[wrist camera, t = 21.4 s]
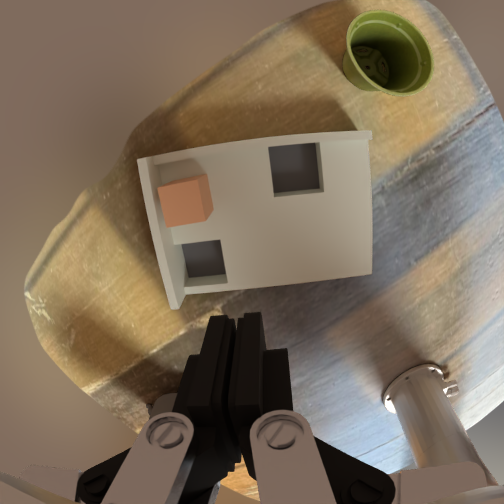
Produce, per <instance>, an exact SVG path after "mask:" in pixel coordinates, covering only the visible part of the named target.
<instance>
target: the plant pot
mask: <svg viewBox="0 0 504 504" xmlns="http://www.w3.org/2000/svg"><path fill="white" fill-rule="evenodd" d="M346 47H347V49H346V52H345V54H344V57H343V61H342V66H343V71H344V73H345V75H346V77H347V79H348V80H349V81H350V82H351V83H352V84H354V85H355V86H356V87H358V88H359V89H362V90H365V91H382V92H384V93H387V94H390V95H394V96H411V95H414V94H417V93H419V92H421V91H422V90H423V89H425V88H426V87H427V85H428V84H429V82H430V81H431V79H432V76H433V72H434V58H433V53H432V51H431V48H430V45H429V43H428V41H427V40H426V38H425V37H424V35H423V34H422V32H421V31H420V30H419V29H418V28H417V27H416V26H415V25H414V24H413V23H412V22H410V21H409V20H408V19H406V18H404V17H402V16H400V15H398V14H396V13H394V12H391V11H386V10H370V11H366V12H363V13H361V14H359V15H358V16H357V17H356V18H354V19H353V21H352V22H351V23H350V25H349V27H348V30H347V34H346ZM362 49H365V50H367V52H357V50H362ZM381 62H382V63H383V64H384V66H385V68H386V71H385V72H383V66H382V63H381ZM366 66H369V69H366Z"/></svg>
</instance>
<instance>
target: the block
mask: <svg viewBox="0 0 504 504" xmlns="http://www.w3.org/2000/svg"><path fill="white" fill-rule="evenodd" d="M157 189H158V193H159V198H160V202H161V207H162V211H163V215H164V220H165V224H166V228H169V227H175V226H180V225H186V224H192V223H198V222H204V221H206V220H207V219H208V217H209V216H210V214H211V213H212V212H213V210H214V208H213V202H212V197H211V192H210V187H209V182H208V176H207V174H204V175H199V176H193V177H188V178H184V179H179V180H174V181H171V182H169V183H167V184H164V185H162V186H160V187H158V188H157Z"/></svg>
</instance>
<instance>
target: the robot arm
mask: <svg viewBox="0 0 504 504" xmlns="http://www.w3.org/2000/svg"><path fill="white" fill-rule="evenodd" d="M456 385H457V382H456V380H452V381H449V382H447V383H446V382H444V375H443V372H442V371H441V369H440V368H439V367H438V366H436V365H433V364H424V365H420V366H416V367H414V368H411V369H410V370H408V371H406V372H404V373H403V374H401V375H400V376H399V377H397V378H396V379H395V380H394V381H393V382H392V383H391V384H390V386H389V387H388V388H387V390H386V392H385V394H384V397H383V402H384V406H385V408H386V409H387V410H388V411H389V412H391V413H395V414H397V416H398V418H399V421H400V424H401V426H402V429H403V431H404V434H405V437H406V439H407V442H408V445H409V447H410V450H411V453H412V456H413V458H414V461H415V464H416V467H417V469H412V470H402V471H400V473H398V474H386V473H384V472H383V471H381V470H379V469H377V468H374V467H372V466H370V465H368V464H366V463H364V462H362V461H360V460H358V459H356V458H354V457H352V456H350V455H348V454H346V453H344V452H342V451H340V450H338V449H336V448H335V447H333V446H331V445H329V444H327V443H325V442H323V441H322V440H320V439H318V438H316V437H315V436H313V433H312V431H311V428H310V425H309V423H308V421H307V420H306V419H305V418H304V417H303V416H302V415H301V414H299V413H296V412H294V411H293V403H292V392H291V382H290V371H289V361H288V351H287V348H283V349H273V350H266V344H265V336H264V329H263V322H262V315H261V312H254V313H244V318H238V323H237V331H236V325H235V321H234V319H229V318H228V316H227V315H218V316H210V319H209V323H208V326H207V330H206V333H205V337H204V341H203V344H202V348H201V352H200V354H197V355H190V356H189V358H188V360H187V363H186V366H185V370H184V373H183V376H182V379H181V383H180V386H179V389H178V392H177V396H176V399H175V402H174V406H173V409H172V412H167V413H162V414H159V415H156V416H154V417H152V418H151V419H150V420H148V421H147V422H146V424H145V425H144V426H143V428H142V429H141V431H140V433H139V435H138V437H137V439H136V440H135V442H134V444H133V446H132V447H131V448H129V449H127V450H125V451H124V452H122V453H120V454H118V455H116V456H114V457H112V458H110V459H108V460H106V461H104V462H102V463H100V464H98V465H96V466H94V467H92V468H90V469H88V470H87V471H85V472H81V471H80V470H79V469H66V468H56V467H47V466H39V465H30V466H28V467H26V468H25V469H24V470H23V471H22V472H21V474H20V477H19V478H17V477H15V476H12V475H9V474H6V473H3V472H0V504H215V501H216V498H217V494H218V491H219V488H220V481H221V480H222V479H223V478H225V477H226V476H227V475H228V472H234V469H235V463H240V462H241V456H242V455H243V458H244V461H245V464H246V467H247V470H248V473H249V476H251V477H252V478H253V479H255V480H256V481H257V485H258V491H259V497H260V503H261V504H504V485H498V483H497V481H496V480H495V478H494V477H493V476H492V474H491V473H490V472H489V470H488V469H487V467H486V466H485V464H484V463H483V461H482V460H481V458H480V457H479V455H478V453H477V451H476V449H475V448H474V446H473V444H472V442H471V440H470V438H469V436H468V434H467V432H466V431H465V429H464V427H463V425H462V423H461V421H460V419H459V417H458V415H457V414H456V412H455V410H454V408H453V406H452V404H451V403H450V401H449V399H448V397H451V396H454V395H457V394H458V392H459V390H458V387H457V386H456Z"/></svg>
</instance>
